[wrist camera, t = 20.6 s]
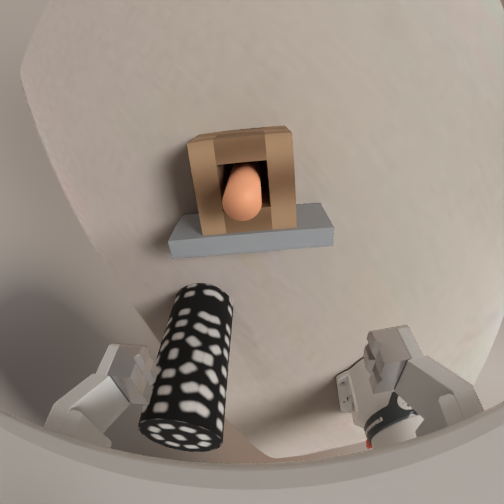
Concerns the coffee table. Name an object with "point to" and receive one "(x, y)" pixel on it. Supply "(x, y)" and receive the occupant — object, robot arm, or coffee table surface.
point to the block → (235, 151)
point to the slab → (253, 236)
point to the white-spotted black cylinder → (191, 372)
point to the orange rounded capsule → (243, 191)
